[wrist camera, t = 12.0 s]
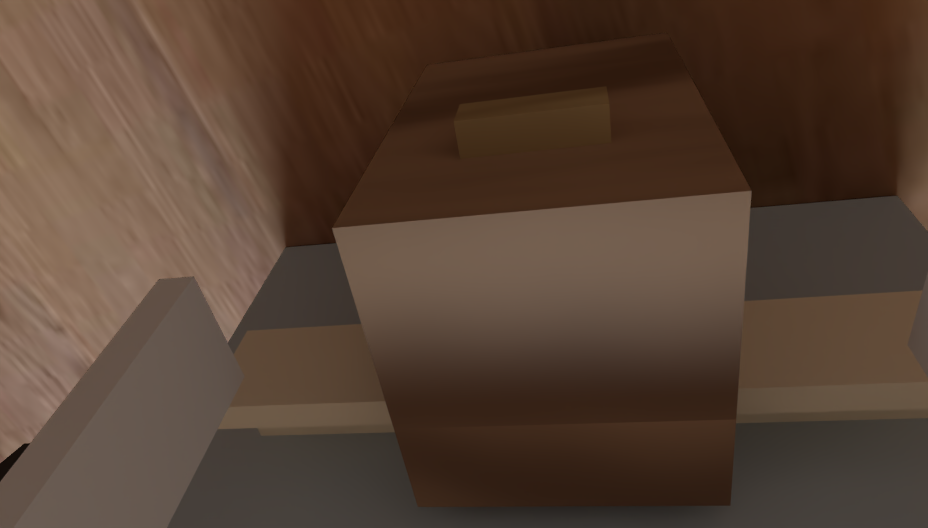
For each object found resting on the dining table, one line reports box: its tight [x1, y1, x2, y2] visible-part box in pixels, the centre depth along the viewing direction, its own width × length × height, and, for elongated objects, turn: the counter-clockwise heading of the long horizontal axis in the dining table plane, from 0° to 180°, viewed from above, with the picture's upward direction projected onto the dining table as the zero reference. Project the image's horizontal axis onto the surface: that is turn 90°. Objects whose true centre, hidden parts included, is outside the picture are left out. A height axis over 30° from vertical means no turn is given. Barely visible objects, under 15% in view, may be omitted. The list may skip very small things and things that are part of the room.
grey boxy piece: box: [167, 196, 928, 528], centre depth 21 cm, size 11×24×18 cm, turn 100°
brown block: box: [332, 33, 752, 507], centre depth 17 cm, size 9×7×10 cm
